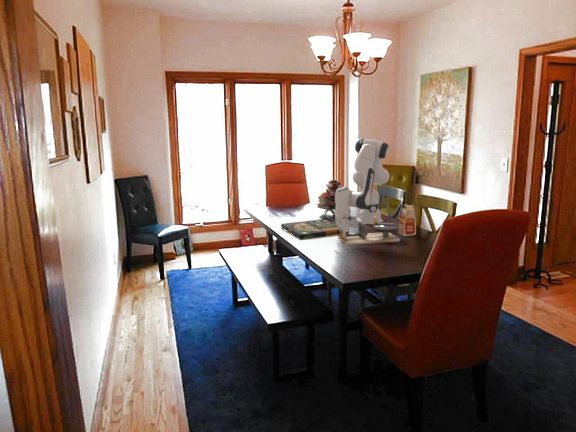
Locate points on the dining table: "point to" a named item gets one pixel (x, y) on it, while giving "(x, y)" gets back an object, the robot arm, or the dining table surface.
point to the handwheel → (384, 225)
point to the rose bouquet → (329, 200)
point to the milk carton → (407, 221)
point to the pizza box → (312, 228)
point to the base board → (370, 237)
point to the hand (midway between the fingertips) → (342, 235)
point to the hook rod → (349, 234)
